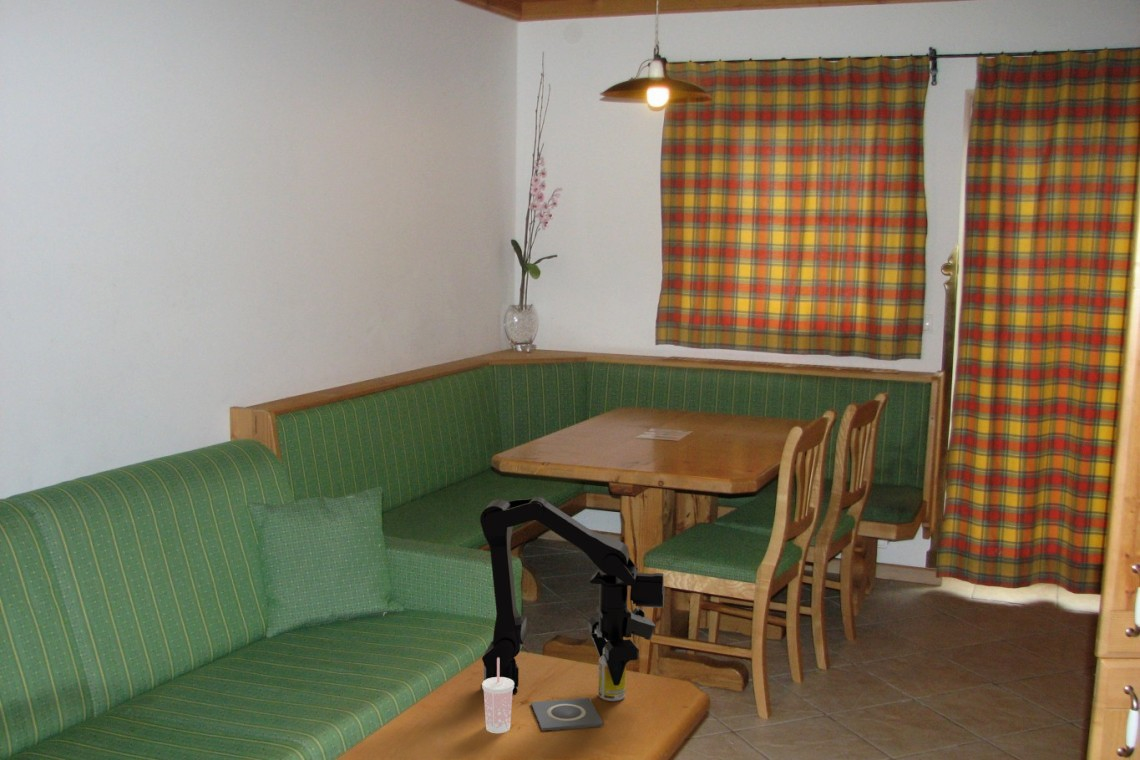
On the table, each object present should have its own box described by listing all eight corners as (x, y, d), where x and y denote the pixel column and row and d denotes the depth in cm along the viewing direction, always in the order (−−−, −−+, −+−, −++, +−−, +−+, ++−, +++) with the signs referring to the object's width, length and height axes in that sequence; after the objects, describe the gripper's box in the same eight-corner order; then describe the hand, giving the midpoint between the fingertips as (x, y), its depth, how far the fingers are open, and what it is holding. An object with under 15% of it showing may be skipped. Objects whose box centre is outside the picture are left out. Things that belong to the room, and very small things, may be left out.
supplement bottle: (631, 697, 225) (632, 649, 224) (610, 704, 222) (611, 656, 220) (612, 688, 230) (613, 641, 228) (592, 695, 226) (593, 647, 225)
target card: (541, 731, 210) (542, 727, 209) (531, 704, 221) (531, 701, 221) (603, 726, 212) (603, 722, 212) (589, 700, 224) (589, 697, 224)
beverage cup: (518, 723, 213) (519, 654, 211) (506, 737, 207) (507, 666, 205) (489, 718, 215) (489, 650, 213) (476, 732, 209) (476, 661, 207)
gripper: (664, 617, 216) (663, 693, 218) (639, 587, 234) (637, 658, 236) (609, 621, 213) (608, 697, 215) (588, 590, 231) (587, 661, 234)
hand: (612, 677), depth 225 cm, fingers open, 7 cm apart
